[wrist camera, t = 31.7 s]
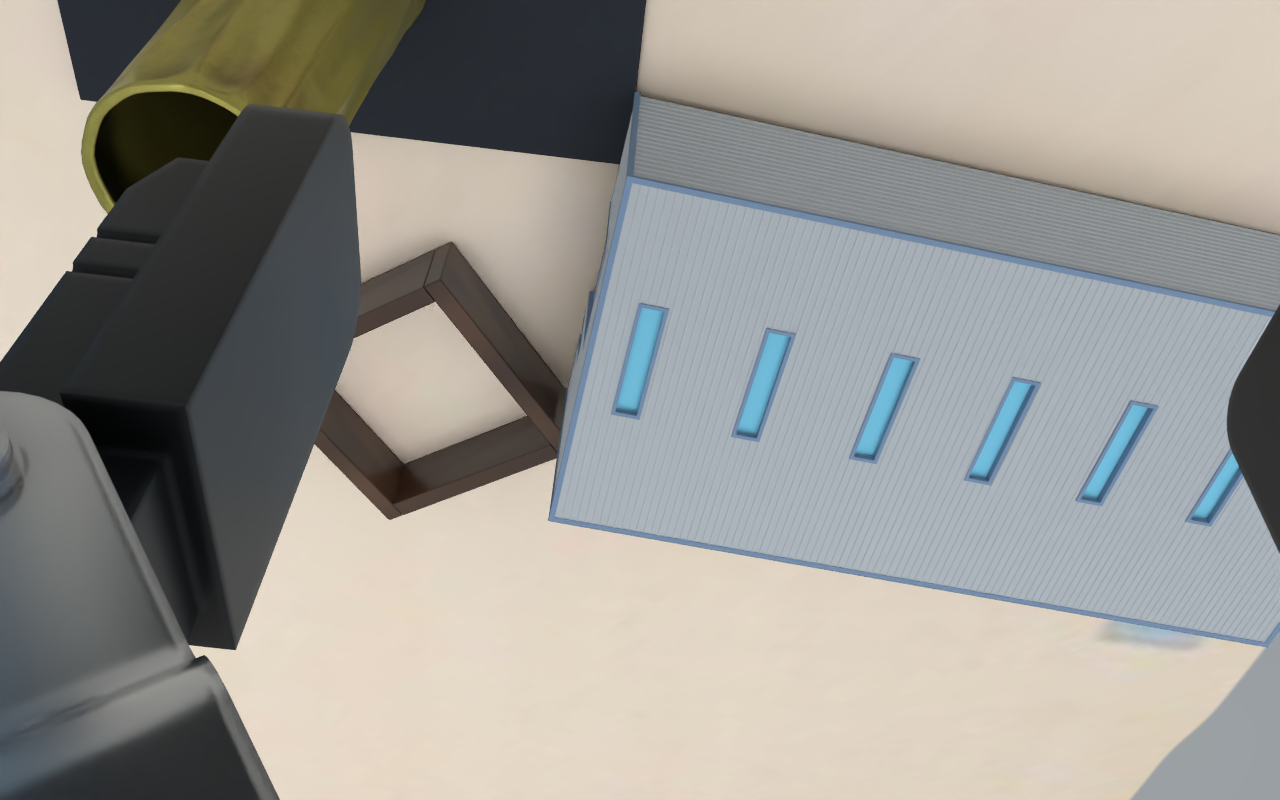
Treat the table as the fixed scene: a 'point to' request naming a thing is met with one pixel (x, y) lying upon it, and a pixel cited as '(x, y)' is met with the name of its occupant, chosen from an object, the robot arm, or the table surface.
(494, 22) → the mat
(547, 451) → the holder
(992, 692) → the table surface
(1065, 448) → the warehouse
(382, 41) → the vase
